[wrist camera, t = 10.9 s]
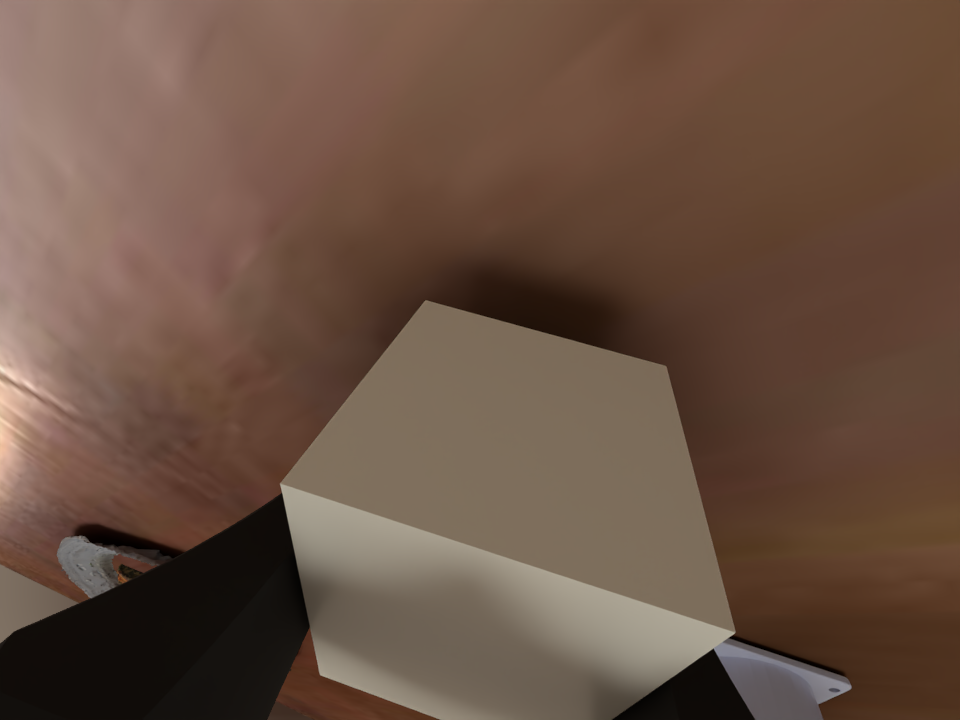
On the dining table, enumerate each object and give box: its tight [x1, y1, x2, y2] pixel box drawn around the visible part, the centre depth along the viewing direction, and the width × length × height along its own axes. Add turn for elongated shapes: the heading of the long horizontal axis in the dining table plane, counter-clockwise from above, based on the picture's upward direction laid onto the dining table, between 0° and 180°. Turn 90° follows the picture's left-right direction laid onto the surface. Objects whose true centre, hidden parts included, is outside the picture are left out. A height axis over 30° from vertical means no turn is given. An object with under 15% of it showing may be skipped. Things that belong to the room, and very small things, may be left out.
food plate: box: [57, 536, 291, 671], centre depth 40 cm, size 25×23×4 cm
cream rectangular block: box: [280, 300, 736, 720], centre depth 10 cm, size 8×6×6 cm
